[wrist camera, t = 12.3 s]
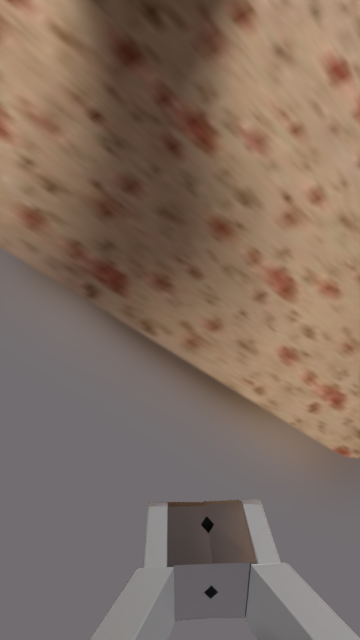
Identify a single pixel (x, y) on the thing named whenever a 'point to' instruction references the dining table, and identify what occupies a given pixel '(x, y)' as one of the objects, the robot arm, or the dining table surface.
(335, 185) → the dining table surface
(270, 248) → the dining table surface
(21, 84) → the dining table surface
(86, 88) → the dining table surface
